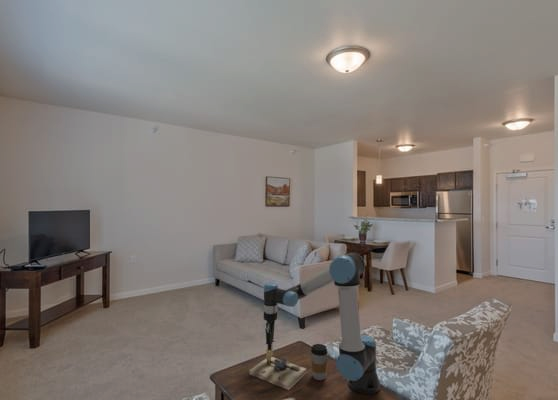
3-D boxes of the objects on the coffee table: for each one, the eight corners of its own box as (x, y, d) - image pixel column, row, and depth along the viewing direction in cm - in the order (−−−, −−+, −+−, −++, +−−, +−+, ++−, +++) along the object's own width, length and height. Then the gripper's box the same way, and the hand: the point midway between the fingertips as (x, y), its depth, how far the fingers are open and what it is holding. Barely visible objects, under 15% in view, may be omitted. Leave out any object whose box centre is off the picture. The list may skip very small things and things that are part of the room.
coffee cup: (326, 382, 145) (327, 351, 145) (310, 380, 147) (310, 350, 147) (327, 373, 153) (327, 344, 154) (311, 371, 155) (311, 342, 155)
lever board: (306, 372, 154) (306, 365, 154) (289, 390, 139) (289, 382, 139) (269, 359, 167) (269, 353, 167) (249, 374, 152) (249, 367, 152)
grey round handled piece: (293, 365, 156) (293, 351, 156) (286, 373, 148) (286, 359, 148) (270, 359, 162) (270, 346, 162) (262, 366, 154) (262, 353, 154)
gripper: (266, 307, 168) (266, 348, 168) (260, 315, 155) (260, 360, 155) (279, 308, 166) (278, 349, 166) (274, 316, 154) (274, 361, 154)
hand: (269, 354), depth 161 cm, fingers closed
